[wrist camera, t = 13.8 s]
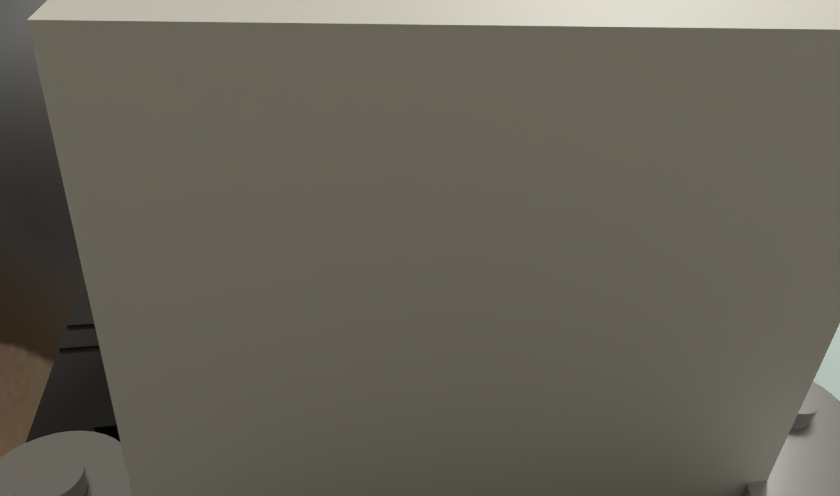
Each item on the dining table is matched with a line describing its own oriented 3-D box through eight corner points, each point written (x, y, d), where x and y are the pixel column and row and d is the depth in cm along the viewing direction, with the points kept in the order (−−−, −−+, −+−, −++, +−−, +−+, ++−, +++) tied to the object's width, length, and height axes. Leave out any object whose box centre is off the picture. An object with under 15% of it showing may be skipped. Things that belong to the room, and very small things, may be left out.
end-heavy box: (233, 953, 9) (27, 18, 3) (239, 598, 13) (156, -104, 7) (588, 868, 10) (974, 30, 4) (492, 562, 14) (609, -83, 8)
